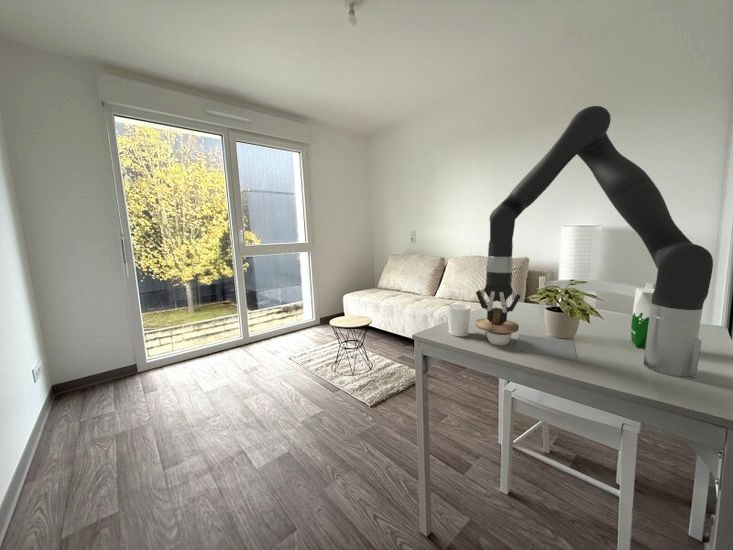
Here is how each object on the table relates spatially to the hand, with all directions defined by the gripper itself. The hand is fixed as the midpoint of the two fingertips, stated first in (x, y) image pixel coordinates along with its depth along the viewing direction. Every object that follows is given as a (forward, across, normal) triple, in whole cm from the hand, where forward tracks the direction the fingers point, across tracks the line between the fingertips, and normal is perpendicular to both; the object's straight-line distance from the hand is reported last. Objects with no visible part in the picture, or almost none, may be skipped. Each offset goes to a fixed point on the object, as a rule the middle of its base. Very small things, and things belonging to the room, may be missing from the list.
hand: (496, 321), depth 98 cm
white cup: (+7, +13, -3) cm, 15 cm away
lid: (+2, 0, 0) cm, 2 cm away
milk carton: (+7, -42, -20) cm, 47 cm away
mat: (+7, -14, -3) cm, 16 cm away
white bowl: (+8, -1, +1) cm, 8 cm away
